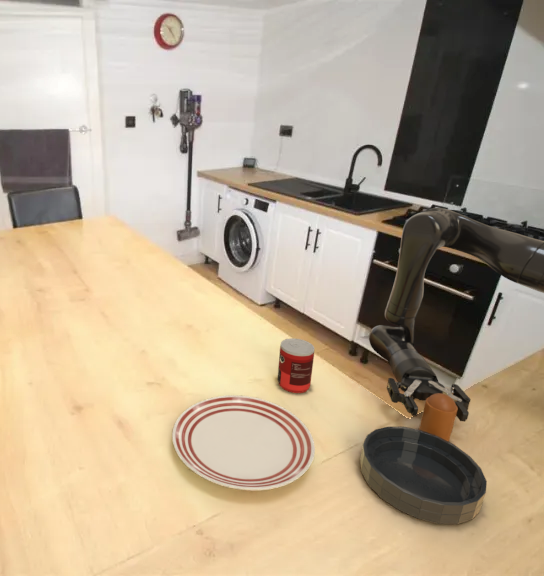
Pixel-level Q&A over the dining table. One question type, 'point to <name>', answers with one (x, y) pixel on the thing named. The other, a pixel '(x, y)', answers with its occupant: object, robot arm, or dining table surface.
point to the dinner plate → (243, 442)
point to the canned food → (295, 365)
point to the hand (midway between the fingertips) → (439, 415)
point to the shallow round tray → (423, 475)
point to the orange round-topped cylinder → (439, 415)
